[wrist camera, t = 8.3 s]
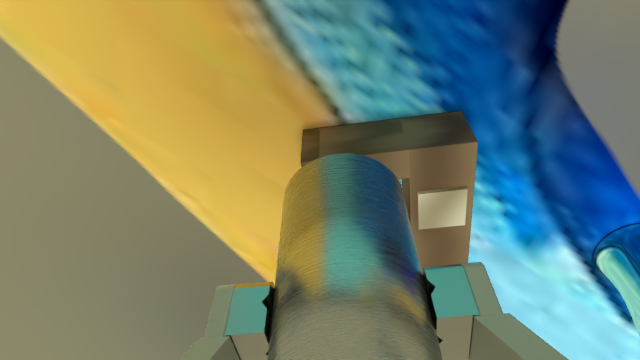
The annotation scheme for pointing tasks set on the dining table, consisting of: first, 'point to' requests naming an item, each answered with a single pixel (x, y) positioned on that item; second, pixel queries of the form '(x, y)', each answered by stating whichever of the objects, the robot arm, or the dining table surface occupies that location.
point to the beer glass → (622, 265)
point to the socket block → (417, 174)
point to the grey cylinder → (349, 268)
